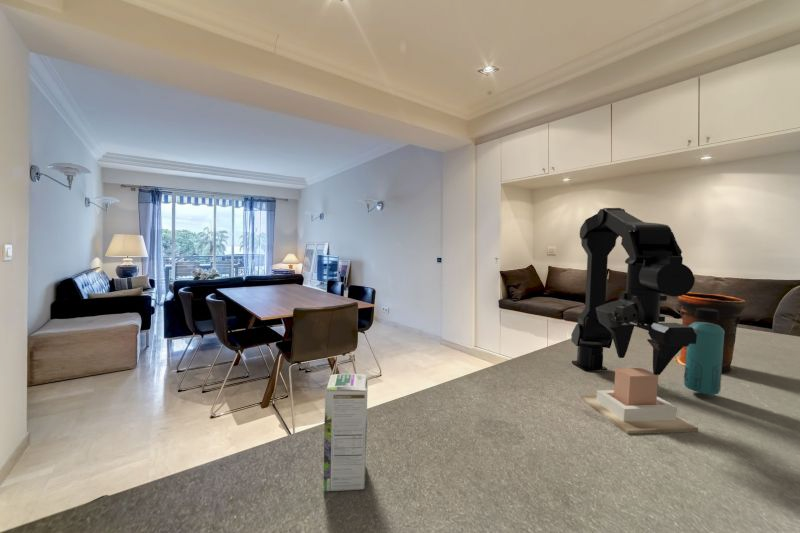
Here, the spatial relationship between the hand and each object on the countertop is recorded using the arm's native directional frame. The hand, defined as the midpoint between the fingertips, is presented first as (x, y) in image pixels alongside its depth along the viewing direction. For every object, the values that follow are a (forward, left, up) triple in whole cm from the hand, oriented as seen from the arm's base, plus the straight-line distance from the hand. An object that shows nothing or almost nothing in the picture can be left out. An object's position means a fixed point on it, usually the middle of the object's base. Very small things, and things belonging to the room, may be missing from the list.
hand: (637, 365), depth 70 cm
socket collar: (0, 0, -10) cm, 10 cm away
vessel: (-25, +42, -10) cm, 50 cm away
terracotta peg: (0, 0, -9) cm, 9 cm away
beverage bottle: (-7, +22, -10) cm, 25 cm away
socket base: (0, 0, -10) cm, 10 cm away
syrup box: (+15, -57, -10) cm, 60 cm away
